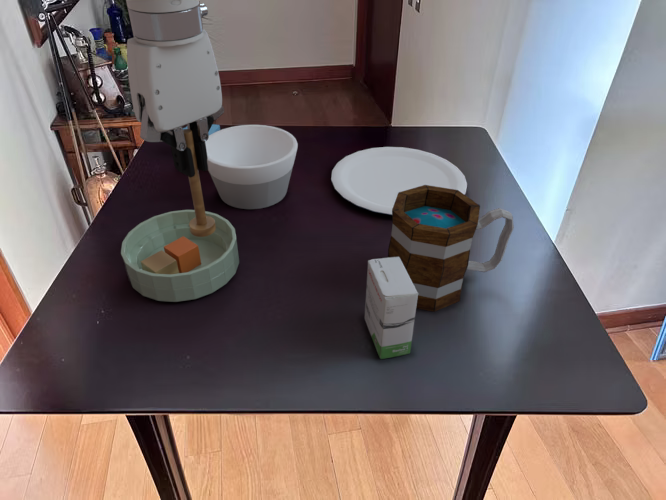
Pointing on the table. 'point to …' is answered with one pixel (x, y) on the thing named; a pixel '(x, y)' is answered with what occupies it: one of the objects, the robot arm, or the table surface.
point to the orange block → (184, 254)
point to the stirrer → (198, 197)
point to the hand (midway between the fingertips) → (192, 169)
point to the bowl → (251, 164)
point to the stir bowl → (198, 282)
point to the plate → (391, 176)
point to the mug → (440, 241)
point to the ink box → (390, 306)
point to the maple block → (160, 264)
